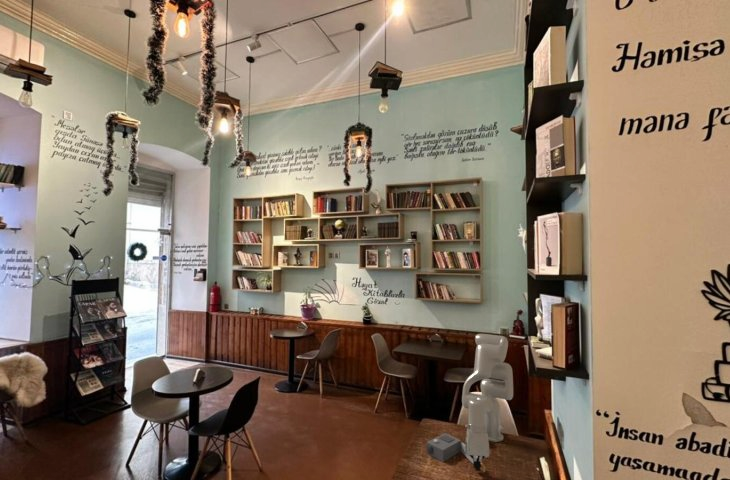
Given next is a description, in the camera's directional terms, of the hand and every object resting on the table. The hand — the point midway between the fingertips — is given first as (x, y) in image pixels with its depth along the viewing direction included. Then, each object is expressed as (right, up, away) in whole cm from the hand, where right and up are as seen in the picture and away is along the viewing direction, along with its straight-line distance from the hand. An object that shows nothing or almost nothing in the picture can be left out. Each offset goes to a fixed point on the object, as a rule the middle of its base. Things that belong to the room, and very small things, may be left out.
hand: (477, 469), depth 153 cm
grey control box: (-11, -3, +17) cm, 21 cm away
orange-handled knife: (0, -2, +8) cm, 8 cm away
